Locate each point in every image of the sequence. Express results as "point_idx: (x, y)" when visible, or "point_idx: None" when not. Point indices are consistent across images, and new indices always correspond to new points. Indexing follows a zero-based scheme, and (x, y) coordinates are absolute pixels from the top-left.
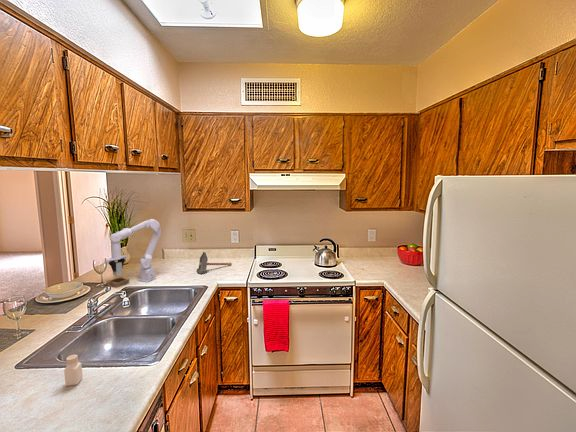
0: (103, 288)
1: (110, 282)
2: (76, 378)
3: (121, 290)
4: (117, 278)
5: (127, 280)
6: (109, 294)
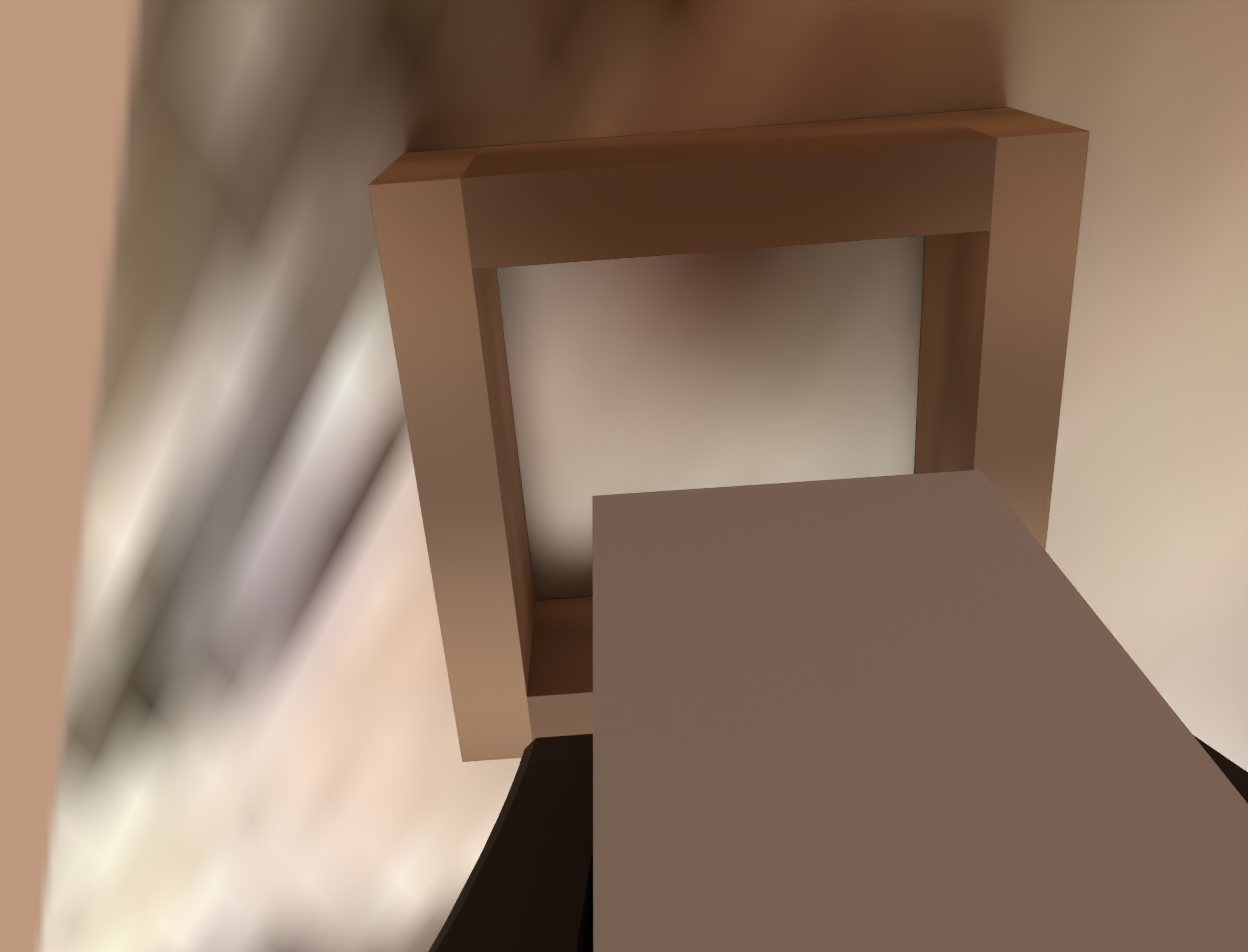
0: (164, 325)
1: (410, 421)
2: None
3: None
4: (900, 195)
5: None
6: (83, 948)
